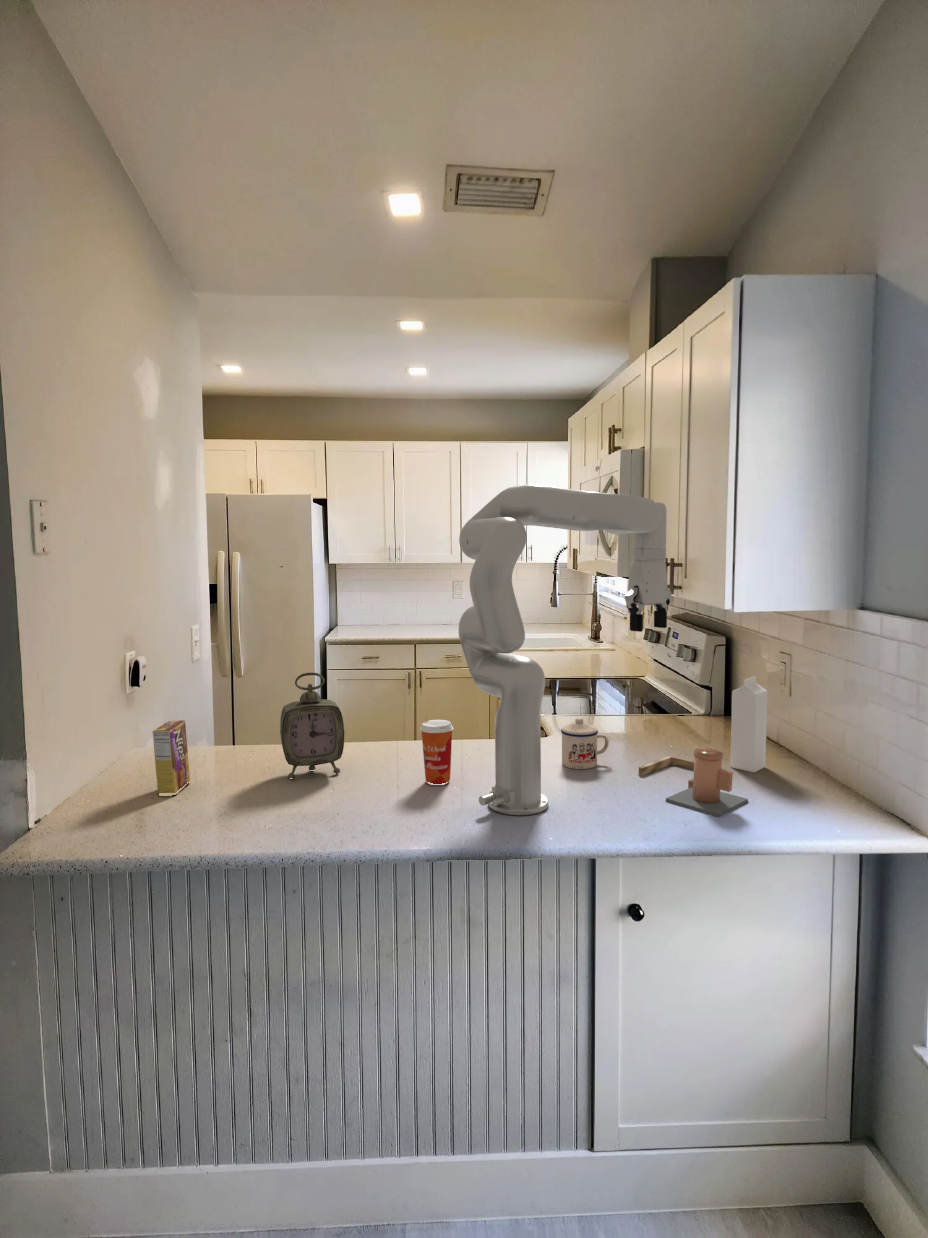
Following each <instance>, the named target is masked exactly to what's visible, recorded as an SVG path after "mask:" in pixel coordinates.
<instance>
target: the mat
mask: <svg viewBox="0 0 928 1238" xmlns="http://www.w3.org/2000/svg"><path fill="white" fill-rule="evenodd" d="M665 802H666V803H667V802H668V803H671V804H674V805H677V806H681V807H685V808H688V809H691V810H695V811H697V812H698V811H699V812H701V813H705V814H709V815H711V816H715V817H721V816H723V815H725V814H727V813H729V812H731V811H732V810H735V809H737V808H738V807H741V806H742V805H745V804H747V803H749V798H746V797H742V796H738V795H735V794H731V793H729V792H725V791H720V801H719V802H717V803H703V802H699V801H697V800H695V799H694V798H693V787H690V788H688V787H687V788H686V789H684V790H682V791H679V792H677V793H674V794H672V795H670V796H668V797H666V798H665Z"/></svg>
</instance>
